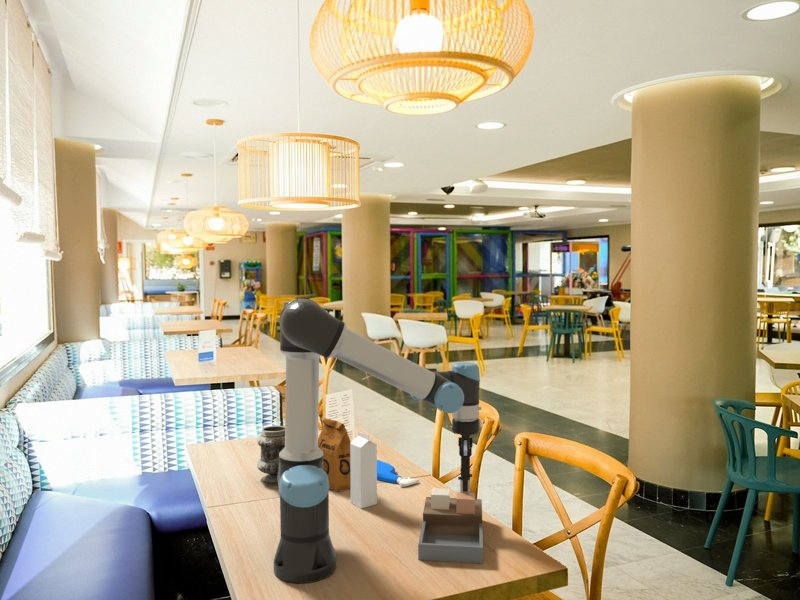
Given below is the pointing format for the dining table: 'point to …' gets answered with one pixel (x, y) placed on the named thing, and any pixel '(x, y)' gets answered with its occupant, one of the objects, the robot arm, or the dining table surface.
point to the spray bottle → (392, 475)
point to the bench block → (452, 519)
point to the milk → (363, 471)
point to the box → (450, 547)
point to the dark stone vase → (270, 452)
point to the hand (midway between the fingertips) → (465, 501)
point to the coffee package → (335, 454)
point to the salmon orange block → (465, 503)
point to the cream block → (440, 498)
